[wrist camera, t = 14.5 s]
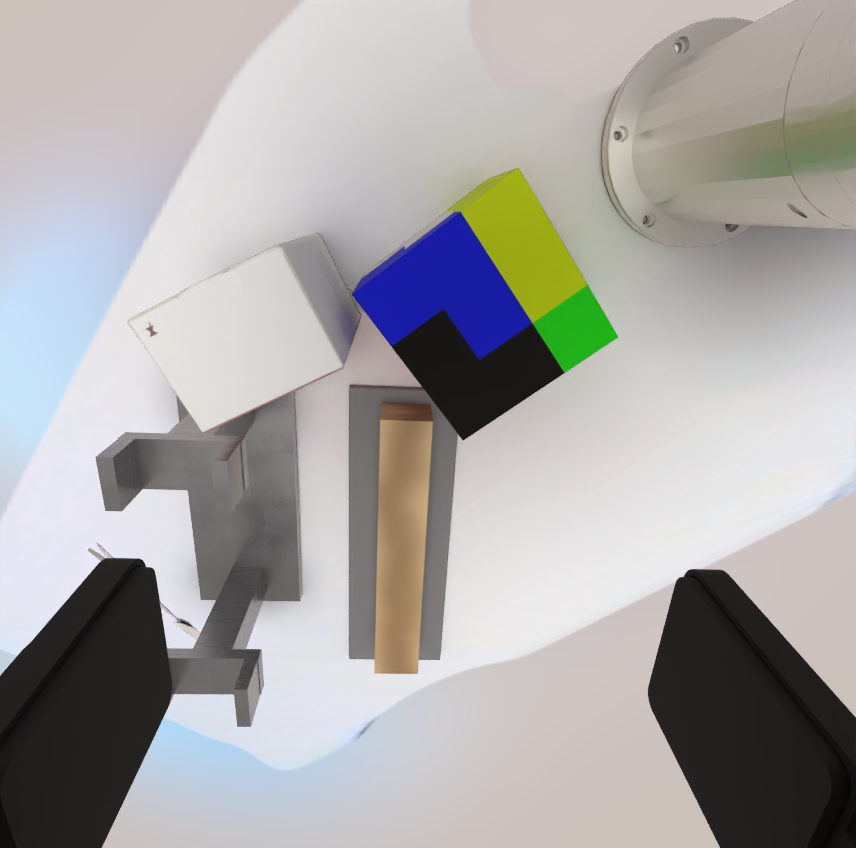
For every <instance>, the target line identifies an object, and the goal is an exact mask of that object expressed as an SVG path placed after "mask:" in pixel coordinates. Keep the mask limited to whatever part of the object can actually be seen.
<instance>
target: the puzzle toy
mask: <svg viewBox="0 0 856 848" xmlns="http://www.w3.org/2000/svg"><path fill="white" fill-rule="evenodd" d="M352 295H353V296H354V298H355V299H356V300H357V302H358V303H359V304H360V306H361V307H362V308H363V310H364V311H365V312H366V314H367V315H368V316H369V318H370V319H371V320H372V321H373V323H374V324H375V325H376V327H377V328H378V329H379V331H380V332H381V333H382V335H383V336H384V337H385V339H386V340H387V341H388V343H389V344H390V345H391V346H392V348H393V349H394V350H395V352H396V353H397V354H398V356H399V357H400V358H401V360H402V361H403V362H404V364H405V365H406V366H407V368H408V369H409V370H410V371H411V373H412V374H413V375H414V377H415V378H416V379H417V381H418V382H419V383H420V385H421V386H422V387H423V389H424V390H425V391H426V393H427V394H428V395H429V397H430V398H431V399H432V400H433V402H434V403H435V404H436V406H437V407H438V408H439V410H440V411H441V412H442V414H443V415H444V416H445V418H446V419H447V420H448V422H449V423H450V424H451V425H452V427H453V428H454V429H455V431H456V432H457V433H458V435H459V436H460V437H461V439H462V440H465V439H466V438H468V437H469V436H471V435H472V434H474V433H475V432H477V431H478V430H480V429H481V428H483V427H484V426H486V425H487V424H489V423H490V422H492V421H493V420H495V419H496V418H498V417H499V416H501V415H502V414H504V413H505V412H507V411H508V410H510V409H511V408H513V407H514V406H516V405H517V404H519V403H520V402H522V401H523V400H525V399H526V398H528V397H529V396H531V395H532V394H534V393H535V392H537V391H538V390H540V389H541V388H543V387H544V386H546V385H547V384H549V383H550V382H552V381H553V380H555V379H556V378H558V377H559V376H561V375H562V374H564V373H565V372H567V371H568V370H570V369H571V368H573V367H574V366H576V365H577V364H579V363H580V362H582V361H583V360H585V359H586V358H588V357H589V356H591V355H592V354H594V353H595V352H597V351H598V350H600V349H601V348H603V347H604V346H606V345H607V344H609V343H610V342H612V341H613V340H615V339H616V338H618V336H617V334H616V332H615V331H614V329H613V327H612V325H611V324H610V322H609V320H608V319H607V317H606V315H605V314H604V312H603V310H602V308H601V307H600V305H599V303H598V302H597V300H596V298H595V297H594V295H593V293H592V291H591V290H590V288H589V286H588V285H587V283H586V281H585V280H584V278H583V276H582V274H581V273H580V271H579V269H578V268H577V266H576V264H575V263H574V261H573V259H572V258H571V256H570V254H569V252H568V251H567V249H566V247H565V246H564V244H563V242H562V241H561V239H560V237H559V235H558V234H557V232H556V230H555V229H554V227H553V225H552V224H551V222H550V220H549V218H548V217H547V215H546V213H545V212H544V210H543V208H542V207H541V205H540V203H539V201H538V200H537V198H536V196H535V195H534V193H533V191H532V190H531V188H530V186H529V185H528V183H527V181H526V179H525V178H524V176H523V174H522V173H521V171H520V169H519V168H517V169H514V170H511V171H509V172H506V173H503V174H500V175H498V176H495V177H492V178H489V179H488V180H486V181H485V182H484V183H482V184H481V185H480V186H478V187H477V188H476V189H474V190H473V191H472V192H470V193H469V194H468V195H467V196H465V197H464V198H463V199H461V200H460V201H459V202H457V203H456V204H455V205H453V206H452V207H451V208H449V209H448V210H447V211H446V212H444V213H443V214H442V215H440V216H439V217H438V218H436V219H435V220H434V221H432V222H431V223H430V224H429V225H427V226H426V227H425V228H423V229H422V230H421V231H419V232H418V233H417V234H415V235H414V236H413V237H411V238H410V239H409V240H408V241H406V242H405V243H404V244H402V245H401V246H400V247H398V248H397V249H396V250H394V251H393V252H392V253H391V254H389V255H388V256H387V257H385V258H384V259H383V260H381V261H380V262H379V263H377V264H376V265H375V266H373V267H372V268H371V269H370V270H368V271H367V272H366V273H365V274H364V275H363V277H362V279H361V280H360V282H359V283H358V285H357V287H356V288H355V290H354V292H353V293H352Z"/></svg>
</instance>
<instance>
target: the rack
mask: <svg viewBox="0 0 856 848" xmlns="http://www.w3.org/2000/svg"><path fill="white" fill-rule="evenodd" d="M176 396H177V394H176ZM177 404H178V412H179V420H180V422H179V423H178V424H177V425H176V426H175V427H174V428H173V429H172V430H171V431H170V432H169V433H167V434H160V433H129V432H125V433H124V434H123V435H122V436H120V437H119V438H118V440H116V441H115V442H114V443H113V444H111V445H110V446H109V447H108V448H106V449H105V450H104V451H103V452H102V453H100V454H99V455H98V456H97V457H96V462H97V467H98V473H99V478H100V484H101V489H102V494H103V500H104V505H105V511H122V510H123V509H124V508H125V507H126V506H127V505H128V504H129V503H130V502H131V501H132V500H133V499H134V498H135V497H136V495H137V494H138V493H139V492H140V491H141V490H142V489H167V490H188V495H189V504H190V512H191V520H192V528H193V537H194V545H195V553H196V562H197V570H198V578H199V587H200V595H201V600H216V602H215V604H214V606H213V608H212V610H211V612H210V615H209V617H208V619H207V621H206V623H205V625H204V627H203V629H202V631H201V633H200V635H199V637H198V640H197V642H196V644H195V646H194V648H193V649H167V652H168V659H169V665H170V672H171V678H172V696H171V700H172V698H173V695H174V694H234V697H235V707H236V717H237V727H251V724H252V721H253V717H254V714H255V710H256V707H257V704H258V700H259V697H260V694H261V693H262V689H263V686H264V679H263V665H262V652H261V649H246V647H247V644H248V641H249V638H250V636H251V633H252V630H253V627H254V624H255V622H256V619H257V616H258V613H259V611H260V608H261V605H262V602H263V601H300V599H301V596H302V577H301V550H300V524H299V498H298V471H297V445H296V419H295V393H294V391H293V392H291V393H289V394H287V395H285V396H283V397H281V398H279V399H276V400H274V401H272V402H270V403H268V404H266V405H264V406H261V407H259V408H257V409H255V410H253V411H251V412H249V413H247V414H244V415H242V416H240V417H238V418H236V419H234V420H232V421H229V422H227V423H225V424H223V425H221V426H219V427H216V428H214V429H212V430H210V431H208V432H205V433H203V432H202V431H201V430H200V428H199V426H198V425H197V423H196V422H195V421H194V419H193V418H192V416H191V415H190V413H189V412H188V411H187V409H186V408H185V406H184V405H183V403H182V402H181V400H180V399H179V397H178V396H177ZM171 700H170V702H171Z"/></svg>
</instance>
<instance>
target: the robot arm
mask: <svg viewBox="0 0 856 848" xmlns="http://www.w3.org/2000/svg"><path fill="white" fill-rule="evenodd" d="M675 44H676V45H677V46H678V47H679V51H678V53H677V52H676V50H675ZM615 132H618V133H619V139H618V140H615V139H614V133H615ZM602 165H603V172H604V179H605V183H606V186H607V189H608V192H609V194H610V197H611V200H612V202H613V203H614V205H615V207H616V208H617V210H618V212H619V213H620V215H621V216H622V217H623V218H624V219H625V220H626V222H627V223H628V224H629V225H630V226H631V227H632V228H633V229H635V230H636V231H638V232H639V233H641V234H642V235H644V236H645V237H646V238H649V239H651V240H654V241H657V242H659V243H662V244H667V245H672V246H679V247H699V246H706V245H712V244H715V243H718V242H721V241H724V240H727V239H730V238H732V237H733V236H735V235H737V234H739V233H741V232H743V231H744V230H746V229H748V228H749V227H750V226H752V225H765V226H787V227H810V228H832V229H855V230H856V0H795V1H793V2H791V3H789V4H788V5H786V6H784V7H782V8H780V9H778V10H776V11H775V12H773V13H771V14H769V15H767V16H765V17H763V18H761V19H759V20H758V21H756V22H753V21H749V20H744V19H739V18H712V19H709V20H705V21H701V22H697V23H694V24H691V25H689V26H687V27H685V28H683V29H681V30H679V31H677V32H675V33H673V34H671V35H670V36H668V37H667V38H665V39H664V40H663V41H661V42H660V43H658V44H657V45H655V46H654V47H653V48H652V49H651V50H650V51H649V52H648V53H647V54H645V55H644V56H643V57H642V58H641V59H640V60H639V61H638V63H637V64H636V65H635V67H634V68H633V69H632V70H631V72H630V73H629V74H628V75H627V76H626V78H625V80H624V81H623V83H622V85H621V87H620V89H619V90H618V92H617V94H616V96H615V98H614V100H613V103H612V106H611V108H610V111H609V114H608V117H607V120H606V125H605V130H604V135H603V140H602ZM644 216H646V217H647V222H646V223H645V224H643V218H644ZM725 224H728V225H727V227H726V228H725ZM171 696H172V678H171V672H170V665H169V659H168V652H167V646H166V639H165V633H164V626H163V620H162V613H161V607H160V600H159V594H158V587H157V581H156V575H155V571H154V569H153V568H151V567H146V566H145V563H144V562H143V560H141V559H129V558H106V559H103V560H102V561H101V562H100V563H99V564H98V565H97V566H96V567H95V569H94V570H93V571H92V572H91V573H90V574H89V575H88V577H87V578H86V579H85V580H84V581H83V582H82V584H81V585H80V586H79V587H78V588H77V589H76V591H75V592H74V593H73V594H72V595H71V596H70V598H69V599H68V600H67V601H66V602H65V603H64V604H63V606H62V607H61V608H60V609H59V610H58V611H57V613H56V614H55V615H54V616H53V617H52V618H51V620H50V621H49V622H48V623H47V624H46V625H45V627H44V628H43V629H42V630H41V631H40V632H39V633H38V635H37V636H36V637H35V638H34V639H33V640H32V642H31V643H30V644H28V645H27V646H26V647H25V648H24V649H23V650H22V651H21V652H20V654H19V655H18V656H17V657H16V658H15V659H14V661H13V662H12V663H11V664H10V665H9V666H8V668H7V669H6V670H5V671H4V672H3V673H2V674H1V676H0V848H102V846H103V843H104V842H105V840H106V838H107V835H108V833H109V831H110V829H111V827H112V825H113V823H114V821H115V819H116V816H117V814H118V812H119V810H120V808H121V806H122V804H123V801H124V800H125V797H126V795H127V793H128V791H129V789H130V787H131V785H132V783H133V781H134V778H135V776H136V774H137V772H138V770H139V768H140V766H141V764H142V761H143V759H144V757H145V755H146V753H147V751H148V749H149V747H150V745H151V742H152V740H153V738H154V736H155V734H156V732H157V730H158V728H159V726H160V724H161V721H162V719H163V717H164V715H165V713H166V711H167V709H168V706H169V704H170V700H171ZM648 697H649V703H650V706H651V709H652V711H653V713H654V715H655V717H656V719H657V721H658V723H659V725H660V727H661V729H662V731H663V733H664V735H665V737H666V739H667V741H668V743H669V745H670V747H671V749H672V751H673V754H674V755H675V758H676V760H677V762H678V764H679V766H680V768H681V769H682V772H683V774H684V776H685V778H686V780H687V782H688V783H689V786H690V788H691V790H692V792H693V794H694V796H695V798H696V799H697V802H698V804H699V806H700V808H701V810H702V812H703V814H704V816H705V818H706V820H707V822H708V824H709V826H710V828H711V830H712V832H713V834H714V836H715V838H716V840H717V842H718V844H719V846H720V848H856V717H855V716H854V715H853V714H852V713H851V712H850V711H849V710H848V709H847V707H846V706H845V705H844V704H843V703H842V702H841V701H840V699H839V698H838V697H837V696H836V695H835V694H834V693H833V692H832V690H831V689H830V688H829V687H828V686H827V685H826V684H825V683H824V682H823V680H822V679H821V678H820V677H819V676H818V675H817V674H816V672H815V671H814V670H813V669H812V668H811V667H810V666H809V665H808V663H807V662H806V661H805V660H804V659H803V658H802V657H801V656H800V654H799V653H798V652H797V651H796V650H795V649H794V648H793V647H792V645H791V644H790V643H789V642H788V641H787V640H786V639H785V638H784V636H783V635H782V634H781V633H780V632H779V631H778V630H777V629H776V627H775V626H774V625H773V624H772V623H771V622H770V621H769V620H768V618H767V617H766V616H765V615H764V614H763V613H762V612H761V611H760V609H758V607H757V606H756V605H755V604H754V603H753V602H752V600H751V599H750V598H749V597H748V596H747V595H746V594H745V593H744V591H743V590H742V589H741V588H740V587H739V586H738V585H737V584H736V582H735V581H734V580H733V579H732V578H731V577H730V576H729V575H728V574H727V573H726V572H725V571H722V570H703V569H691V570H688V571H687V572H686V574H685V576H684V577H681V578H679V579H678V580H677V581H676V584H675V587H674V591H673V595H672V599H671V603H670V606H669V610H668V614H667V618H666V622H665V626H664V629H663V633H662V637H661V641H660V645H659V648H658V652H657V656H656V660H655V664H654V668H653V671H652V675H651V679H650V683H649V687H648Z"/></svg>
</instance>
